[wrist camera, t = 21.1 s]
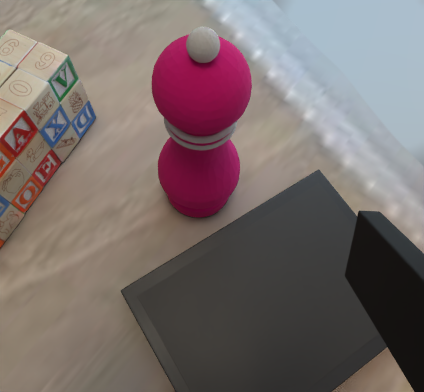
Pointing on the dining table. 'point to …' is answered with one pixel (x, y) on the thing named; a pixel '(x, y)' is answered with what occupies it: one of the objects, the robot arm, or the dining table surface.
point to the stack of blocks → (35, 121)
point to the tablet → (262, 301)
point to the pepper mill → (200, 119)
